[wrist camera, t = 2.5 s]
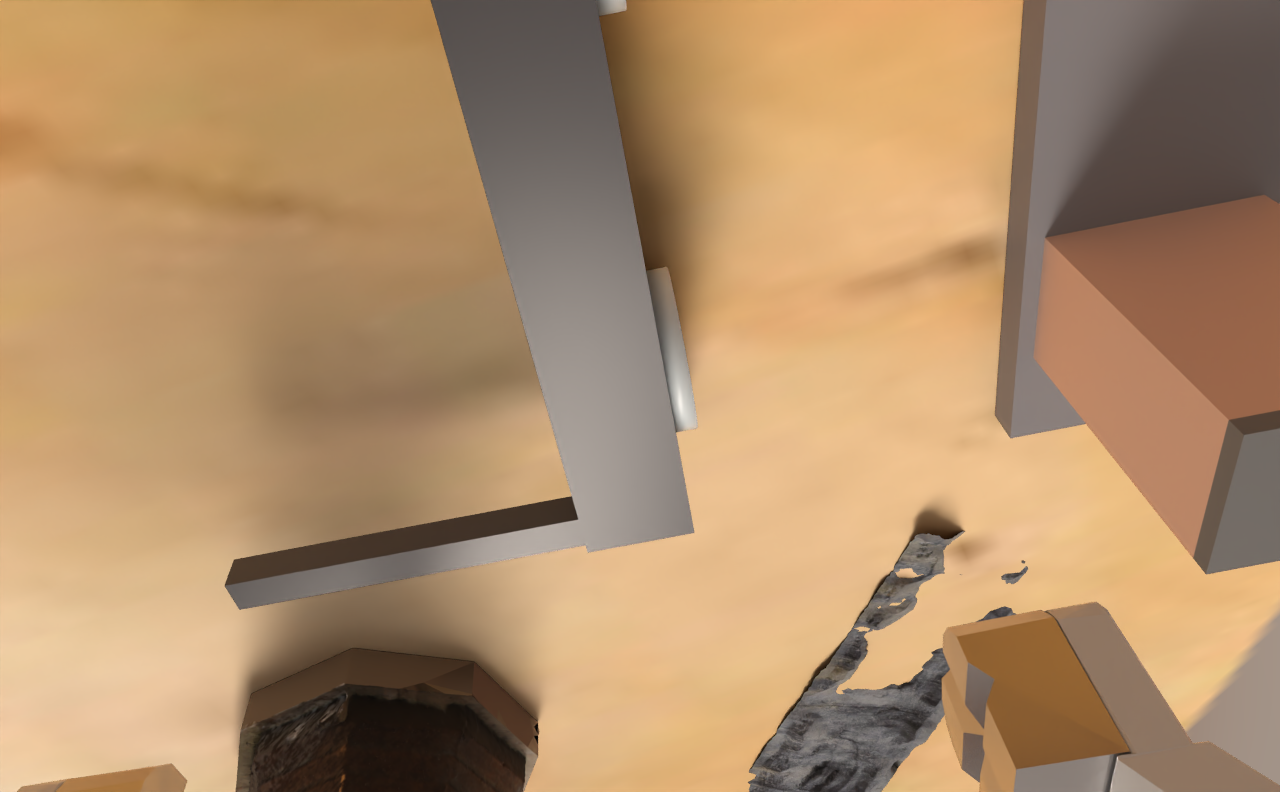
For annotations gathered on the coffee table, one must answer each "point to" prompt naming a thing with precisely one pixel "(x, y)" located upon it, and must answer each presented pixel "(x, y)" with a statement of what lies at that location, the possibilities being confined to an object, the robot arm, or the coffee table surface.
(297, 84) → the coffee table surface
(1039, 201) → the stand
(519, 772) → the bird statue
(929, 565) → the driftwood
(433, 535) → the glasses
